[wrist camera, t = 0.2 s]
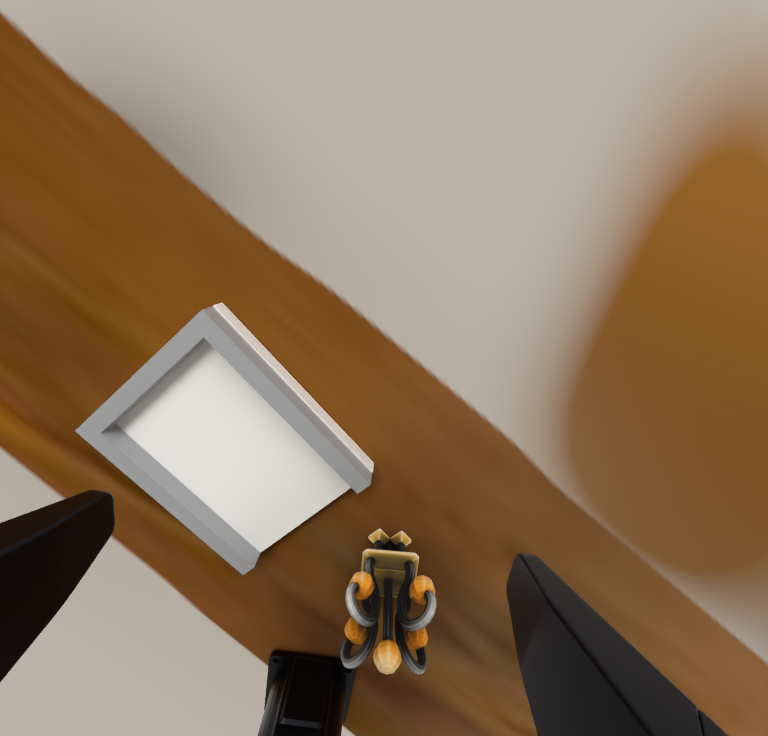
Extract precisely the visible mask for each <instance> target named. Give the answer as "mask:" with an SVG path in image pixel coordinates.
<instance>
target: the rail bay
mask: <svg viewBox="0 0 768 736" xmlns="http://www.w3.org/2000/svg"><path fill="white" fill-rule="evenodd" d="M75 431H76V432H77V433H78V434H79V435H80V436H81V437H83V438H84V439H85V440H86V441H87V442H88V443H90V444H91V445H92V446H93V447H94V448H95V449H97V450H98V451H99V452H100V453H101V454H102V455H104V456H105V457H106V458H107V459H108V460H109V461H111V462H112V463H113V464H114V465H115V466H116V467H118V468H119V469H120V470H121V471H122V472H123V473H125V474H126V475H127V476H128V477H129V478H130V479H132V480H133V481H134V482H135V483H136V484H137V485H139V486H140V487H141V488H142V489H143V490H144V491H146V492H147V493H148V494H149V495H150V496H151V497H152V498H154V499H155V500H156V501H157V502H158V503H159V504H161V505H162V506H163V507H164V508H165V509H166V510H168V511H169V512H170V513H171V514H172V515H173V516H175V517H176V518H177V519H178V520H179V521H180V522H182V523H183V524H184V525H185V526H186V527H187V528H189V529H190V530H191V531H192V532H193V533H194V534H196V535H197V536H198V537H199V538H200V539H201V540H203V541H204V542H205V543H206V544H207V545H208V546H210V547H211V548H212V549H213V550H214V551H215V552H217V553H218V554H219V555H220V556H221V557H222V558H224V559H225V560H226V561H227V562H228V563H229V564H231V565H232V566H233V567H234V568H235V569H236V570H237V571H239V572H240V573H241V574H242V575H244V574H246V573H247V572H248V571H250V570H251V569H253V568H254V567H255V564H256V562H257V560H258V557H259V555H260V553H261V552H262V551H264V550H265V549H266V548H268V547H269V546H271V545H272V544H273V543H275V542H276V541H278V540H279V539H280V538H282V537H283V536H285V535H286V534H287V533H289V532H290V531H292V530H293V529H294V528H296V527H297V526H299V525H300V524H301V523H303V522H304V521H306V520H307V519H308V518H310V517H311V516H313V515H314V514H315V513H317V512H318V511H319V510H321V509H322V508H324V507H325V506H326V505H328V504H329V503H331V502H332V501H333V500H335V499H336V498H338V497H339V496H340V495H342V494H343V493H345V492H346V491H347V490H349V489H350V488H352V489H353V490H354V491H355V492H356V493H357V494H358V493H360V492H361V491H363V490H364V489H365V488H367V487H368V486H370V485H371V478H372V472H373V469H374V462H373V461H372V460H371V459H370V458H369V457H368V456H367V455H366V454H365V453H364V452H363V451H362V450H361V449H360V448H359V447H358V446H357V444H356V443H355V442H354V441H353V440H352V439H351V438H350V437H349V436H348V435H347V434H346V433H345V432H344V431H343V430H342V429H341V428H340V426H339V425H338V424H337V423H336V422H335V421H334V420H333V419H332V418H331V417H330V416H329V415H328V414H327V413H326V412H325V411H324V410H323V408H322V407H321V406H320V405H319V404H318V403H317V402H316V401H315V400H314V399H313V398H312V397H311V396H310V395H309V394H308V393H307V392H306V390H305V389H304V388H303V387H302V386H301V385H300V384H299V383H298V382H297V381H296V380H295V379H294V378H293V377H292V376H291V375H290V374H289V373H288V371H287V370H286V369H285V368H284V367H283V366H282V365H281V364H280V363H279V362H278V361H277V360H276V359H275V358H274V357H273V356H272V355H271V353H270V352H269V351H268V350H267V349H266V348H265V347H264V346H263V345H262V344H261V343H260V342H259V341H258V340H257V339H256V338H255V337H254V335H253V334H252V333H251V332H250V331H249V330H248V329H247V328H246V327H245V326H244V325H243V324H242V323H241V322H240V321H239V320H238V319H237V317H236V316H235V315H234V314H233V313H232V312H231V311H230V310H229V309H228V308H227V307H226V306H225V305H224V304H223V303H219V304H216V305H214V306H212V307H209V308H206V309H203V310H201V311H200V312H199V313H198V314H197V315H196V316H195V317H194V318H193V319H192V320H191V321H190V322H189V323H188V324H187V325H186V326H185V327H183V328H182V329H181V330H180V331H179V332H178V333H177V334H176V335H175V336H174V337H173V338H172V339H171V340H170V341H169V342H168V343H167V344H166V345H165V346H164V347H163V348H161V349H160V350H159V351H158V352H157V353H156V354H155V355H154V356H153V357H152V358H151V359H150V360H149V361H148V362H147V363H146V364H145V365H144V366H143V367H142V368H140V369H139V370H138V371H137V372H136V373H135V374H134V375H133V376H132V377H131V378H130V379H129V380H128V381H127V382H126V383H125V384H124V385H123V386H122V387H121V388H120V389H118V390H117V391H116V392H115V393H114V394H113V395H112V396H111V397H110V398H109V399H108V400H107V401H106V402H105V403H104V404H103V405H102V406H101V407H100V408H99V409H97V410H96V411H95V412H94V413H93V414H92V415H91V416H90V417H89V418H88V419H87V420H86V421H85V422H84V423H83V424H82V425H81V426H80V427H79V428H78V429H77V430H75Z"/></svg>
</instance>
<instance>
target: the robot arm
mask: <svg viewBox="0 0 768 736" xmlns="http://www.w3.org/2000/svg"><path fill="white" fill-rule="evenodd" d="M114 526H115V513H114V498H113V495H112V494H111V493H109V492H105V491H98V490H89V491H86V492H83V493H81V494H78V495H75V496H73V497H70V498H67V499H64V500H62V501H59V502H56V503H54V504H51V505H48V506H45V507H43V508H40V509H38V510H35V511H32V512H29V513H27V514H24V515H21V516H19V517H16V518H13V519H10V520H8V521H5V522H2V523H0V682H1V680H2V679H3V678H4V677H5V676H6V675H7V673H8V672H9V671H10V670H11V668H12V667H13V666H14V665H15V664H16V662H17V661H18V659H20V657H21V656H22V655H23V654H24V653H25V651H26V650H27V649H28V648H29V646H30V645H31V644H32V643H33V641H34V640H35V639H36V638H37V636H38V635H39V634H40V633H41V632H42V630H43V629H44V628H45V627H46V625H47V624H48V623H49V622H50V621H51V619H52V618H53V617H54V616H55V614H56V613H57V612H58V611H59V609H60V608H61V607H62V605H63V604H64V603H65V601H66V600H67V599H68V597H69V595H70V594H71V593H72V592H73V590H74V589H75V587H76V586H77V584H78V583H79V581H80V580H81V579H82V577H83V576H84V574H85V573H86V571H87V570H88V568H89V567H90V565H91V564H92V562H93V561H94V560H95V558H96V556H97V555H98V554H99V552H100V551H101V549H102V548H103V546H104V545H105V543H106V542H107V541H108V539H109V538H110V536H111V534H112V532H113V530H114ZM507 597H508V603H509V608H510V614H511V620H512V626H513V632H514V637H515V643H516V649H517V655H518V660H519V665H520V670H521V674H522V678H523V682H524V686H525V690H526V693H527V697H528V701H529V704H530V708H531V712H532V715H533V719H534V723H535V726H536V730H537V734H538V736H728V735H727V734H726V733H725V732H724V731H723V730H722V729H721V728H720V727H719V726H718V725H717V724H716V723H714V722H713V721H712V720H711V719H710V718H709V717H708V716H707V715H706V714H705V713H704V712H703V711H701V710H698V709H697V706H696V705H695V704H694V703H693V702H692V701H691V700H690V699H689V698H688V697H687V696H686V695H684V694H683V693H682V692H681V691H680V690H679V689H678V688H677V687H676V686H675V685H674V684H673V683H672V682H671V681H670V680H668V679H667V678H666V677H665V676H664V675H663V674H662V673H661V672H660V671H659V670H658V669H657V668H656V667H655V666H654V665H652V664H651V663H650V662H649V661H648V660H647V659H646V658H645V657H644V656H643V655H642V654H641V653H640V652H639V651H637V650H636V649H635V648H634V647H633V646H632V645H631V644H630V643H629V642H628V641H627V640H626V639H625V638H624V637H623V636H621V635H620V634H619V633H618V632H617V631H616V630H615V629H614V628H613V627H612V626H611V625H610V624H609V623H608V622H607V621H605V620H604V619H603V618H602V617H601V616H600V615H599V614H598V613H597V612H596V611H595V610H594V609H593V608H592V607H591V606H589V605H588V604H587V603H586V602H585V601H584V600H583V599H582V598H581V597H580V596H579V595H578V594H577V593H576V592H575V591H573V590H572V589H571V588H570V587H569V586H568V585H567V584H566V583H565V582H564V581H563V580H562V579H561V578H560V577H559V576H557V575H556V574H555V573H554V572H553V571H552V570H551V569H550V568H549V567H548V566H547V565H546V564H545V563H544V562H543V561H541V560H540V559H539V558H538V557H537V556H535V555H529V554H523V553H519V554H517V555H516V557H515V559H514V562H513V565H512V568H511V571H510V574H509V577H508V580H507ZM354 675H355V668H351V669H350V668H347V667H345V666H344V665H343V662H342V660H341V659H335V658H328V657H321V656H314V655H307V654H300V653H293V652H286V651H279V650H275V651H273V652H272V653H271V655H270V659H269V667H268V679H267V688H266V698H265V708H264V709H265V712H264V715H263V719H262V723H261V726H260V730H259V733H258V736H341V729H342V723H344V722H345V720H346V716H347V711H348V706H349V701H350V695H351V690H352V685H353V680H354Z"/></svg>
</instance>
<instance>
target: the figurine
mask: <svg viewBox="0 0 768 736" xmlns="http://www.w3.org/2000/svg"><path fill="white" fill-rule="evenodd" d="M368 539H369V540H370V541H371V542H372V543H373V544H374V545H375V546H374V549H366V550H364V551H363V556H362V567H361V572H356V573H355V574H354V575H353V577H352V578H351V580H350V582H349V586H348V588H347V590H346V597H345V600H346V604H347V608H348V610H349V612H350V615H351V616H352V617H351V618H350V619H349V621H348V622H347V624H346V626H345V634H346V636H347V638H346V640H345V641H344V643H343V646H342V650H341V660H342V662H343V665H344V666H345V667H347V668H350V669H351V668H356V667H357V666H359V665H361V664H362V663H363V662H364V661H365V660H366V658H367V657H368V655H369V654H370V652H371V650H372V648H373V646H374V643H375V640H376V637H377V632H378V617H379V613H380V596H384V611H383V641H381V642H380V643H379V645H378V646H377V648H376V649H375V651H374V655H373V657H374V662H375V664H376V667H377V669H378V670H379V672H381V673H384V674H386V675H387V674H392V673H394V672H395V671H396V669H397V668H398V667H399V665H400V664H401V657H402V659H403V661H404V663H405V664H406V666H407V667H408V668H409V669H410V670H411V671H412V672H413V673H415V674H422V673H423V672H424V671H425V669H426V667H427V657H426V652H425V649H424V646H425V645H426V643H427V640H428V636H427V632H426V630H425V626H426V625H427V624H428V623H429V622H430V621H431V619H432V618H433V616H434V614H435V610H436V598H435V596H434V595H435V589H434V586H433V583H432V580H431V579H430V578H429V577H426V576H424V575H421V576H416V575H417V569H418V562H419V556H418V555H417V554H416V553H410V552H405V547H406V546H407V545H408V544H410V543H411V539H410V538H409V537H408V536H407V535H406V534H405V533H404V532H403V531H400V532H398V533H397V534H395V535H394V536H392V537H391V538H390V539H389V537H388V536H387V535H386V534H385V533H384V532H383V531H382V530H381V529H378V530H376V531H375V532H373V533H372V534H370V535H369V537H368ZM370 596H371V603H370V602H369V599H370ZM393 597H397V613H396V616H395V636H396V642H397V644H396V643H395V642H393ZM411 597H413V600H414V601H415V602H417V603H419V604H422V605H423V604H426V608H425V610H424V612H423V613H422V614H421V615H420V616H419V617H417V618H415V619H409V617H408V616H407V614H408V613H409V611H410V609H411V599H410V598H411ZM356 599H358V600H361V603H362V607H363V609H364V611H365V612H366V613H367V614H368V615H366V614H364V613H363V612H362V611H361V610H360V608H359V607H358V605H357V602H356ZM404 628H405V630H404ZM365 639H366V640H365ZM364 640H365V642H364V644H363V646H362V648H361V649H360V650H359V651H358V652H357V653H356V654H355V655H354V656H352V657H350V651H351V648H352V646H353V644H355V645H356V644H361V643H363V641H364ZM407 646H408V647H407ZM408 648H409V649H411V650H414V651H416V653H417V657H418V662H417V661H416V660H415V659H414V658H413V656H412V655H411V653H410V651H409V649H408Z"/></svg>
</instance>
